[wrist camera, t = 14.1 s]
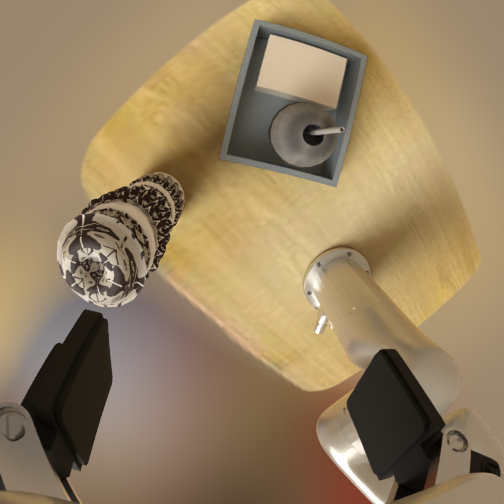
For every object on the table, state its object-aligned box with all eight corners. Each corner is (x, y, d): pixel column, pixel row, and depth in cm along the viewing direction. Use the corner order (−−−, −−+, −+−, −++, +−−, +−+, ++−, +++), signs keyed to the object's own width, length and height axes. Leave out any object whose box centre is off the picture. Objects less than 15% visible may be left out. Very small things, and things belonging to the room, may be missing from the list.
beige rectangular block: (326, 110, 38) (335, 108, 35) (253, 90, 36) (256, 85, 33) (336, 64, 36) (347, 59, 32) (266, 42, 34) (270, 34, 30)
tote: (322, 180, 43) (336, 187, 38) (219, 156, 41) (218, 159, 35) (350, 64, 36) (367, 56, 31) (250, 33, 34) (254, 19, 28)
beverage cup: (248, 124, 38) (266, 115, 20) (292, 101, 37) (346, 78, 19) (273, 167, 41) (311, 196, 23) (316, 144, 40) (383, 157, 22)
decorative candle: (120, 212, 42) (35, 290, 19) (145, 158, 40) (58, 190, 17) (170, 238, 45) (125, 341, 22) (198, 186, 42) (167, 249, 19)
